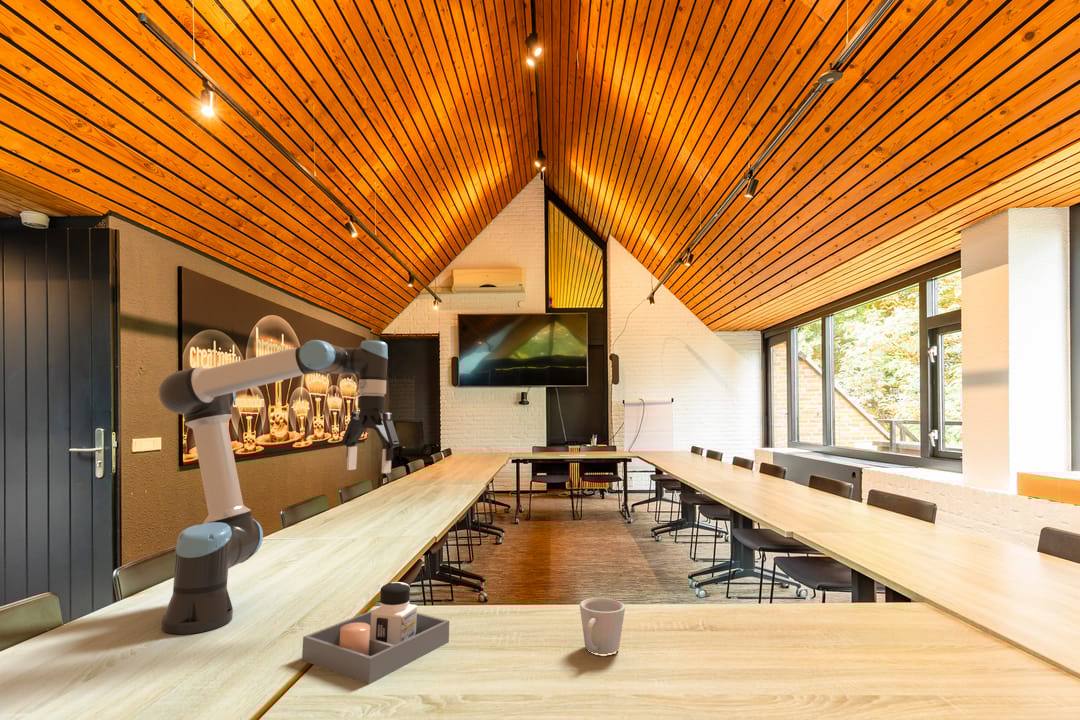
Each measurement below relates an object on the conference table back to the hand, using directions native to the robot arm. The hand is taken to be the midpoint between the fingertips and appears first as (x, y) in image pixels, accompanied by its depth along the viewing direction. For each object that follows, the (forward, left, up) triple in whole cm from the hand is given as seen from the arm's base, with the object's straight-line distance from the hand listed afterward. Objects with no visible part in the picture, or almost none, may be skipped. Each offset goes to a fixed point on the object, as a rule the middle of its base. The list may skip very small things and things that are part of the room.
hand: (368, 471), depth 156 cm
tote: (+26, -19, -37) cm, 49 cm away
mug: (+67, +8, -37) cm, 77 cm away
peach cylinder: (+26, -26, -36) cm, 51 cm away
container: (+26, -14, -36) cm, 47 cm away
